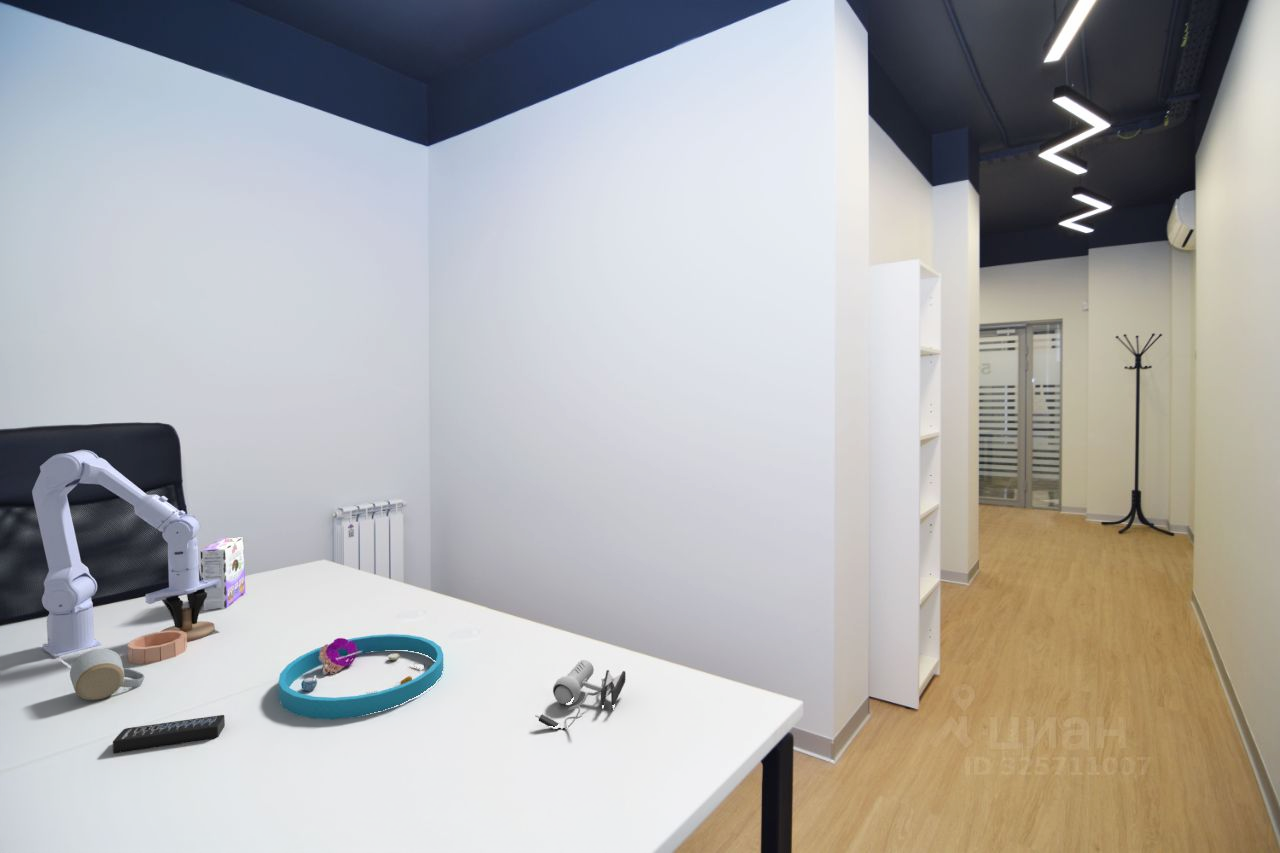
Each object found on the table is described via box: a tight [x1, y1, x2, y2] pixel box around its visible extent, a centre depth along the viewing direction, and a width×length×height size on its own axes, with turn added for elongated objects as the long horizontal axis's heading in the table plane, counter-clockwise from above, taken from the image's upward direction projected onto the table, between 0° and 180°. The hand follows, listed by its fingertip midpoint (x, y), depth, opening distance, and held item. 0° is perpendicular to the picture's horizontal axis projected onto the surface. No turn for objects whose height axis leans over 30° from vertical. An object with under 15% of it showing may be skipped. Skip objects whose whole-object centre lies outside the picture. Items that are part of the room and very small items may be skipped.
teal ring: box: [277, 633, 444, 720], centre depth 126 cm, size 30×30×6 cm
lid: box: [159, 606, 216, 643], centre depth 147 cm, size 11×11×6 cm
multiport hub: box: [112, 714, 226, 755], centre depth 105 cm, size 4×14×2 cm, turn 109°
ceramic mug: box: [69, 648, 145, 701], centre depth 121 cm, size 11×8×8 cm
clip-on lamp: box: [535, 659, 627, 728], centre depth 115 cm, size 12×6×18 cm
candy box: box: [200, 536, 246, 611], centre depth 170 cm, size 14×6×16 cm, turn 14°
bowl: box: [126, 630, 188, 665], centre depth 137 cm, size 10×10×4 cm
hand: (185, 625), depth 147 cm, fingers closed on lid, 2 cm apart
